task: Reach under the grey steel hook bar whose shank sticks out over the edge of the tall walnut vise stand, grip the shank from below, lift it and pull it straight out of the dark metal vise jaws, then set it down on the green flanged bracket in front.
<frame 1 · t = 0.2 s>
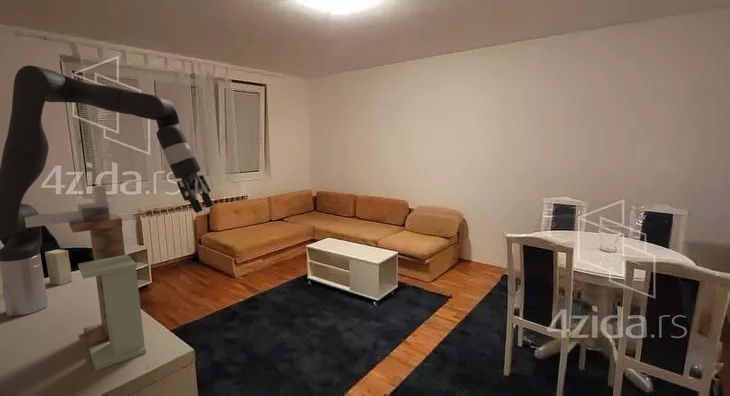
hand: (204, 209, 109), 31 cm above the table, tool tilted 20°, fingers open, 8 cm apart
steel hook: (80, 220, 89), point 32 cm above the table, touching tall vise stand
skincare box: (61, 282, 132), on the table
tall vise stand: (109, 332, 96), on the table
green flanged bracket: (118, 352, 87), on the table
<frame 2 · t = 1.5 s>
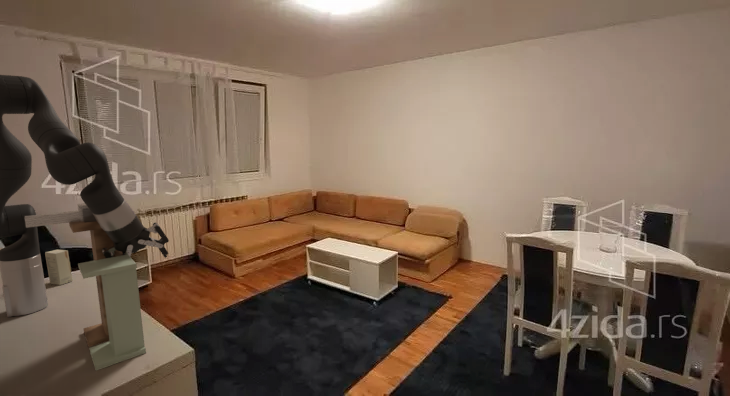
hand: (150, 264, 97), 18 cm above the table, tool tilted 30°, fingers open, 7 cm apart
nothing on the table moved.
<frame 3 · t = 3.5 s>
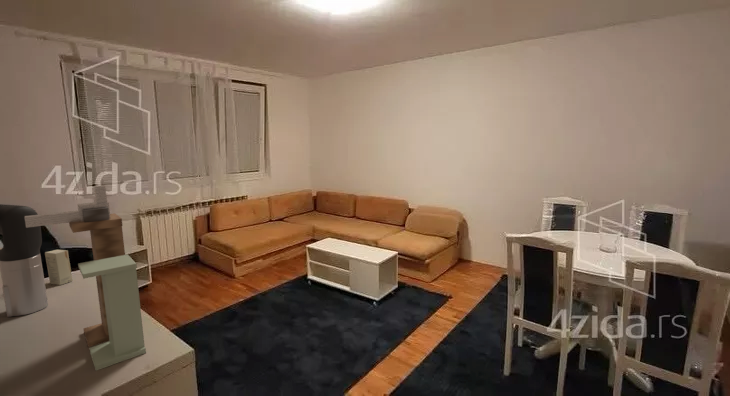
nothing on the table moved.
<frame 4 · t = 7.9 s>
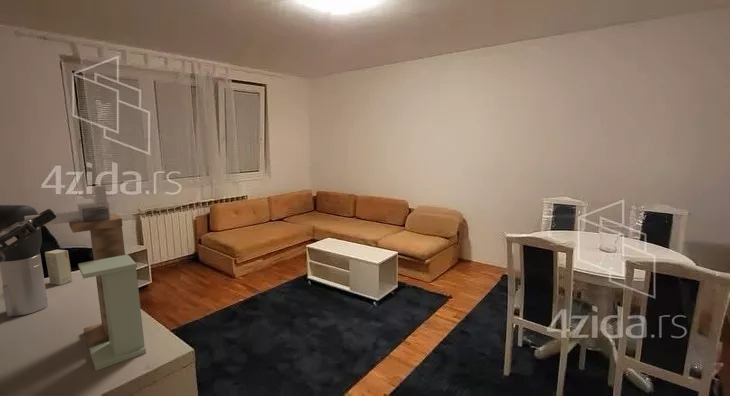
hand: (52, 212, 85), 35 cm above the table, tool pointing upward, fingers closed on steel hook, 2 cm apart
steel hook: (80, 220, 89), point 32 cm above the table, touching gripper, tall vise stand
everything else where it was.
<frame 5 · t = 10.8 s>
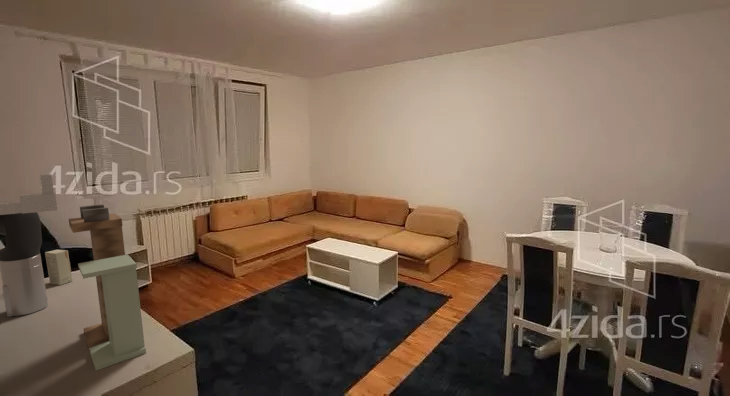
steel hook: (22, 212, 81), point 36 cm above the table, touching gripper
everything else where it was.
when the fingers open (27 cm above the table, at t = 14.0 s): steel hook drops 1 cm, resting on green flanged bracket.
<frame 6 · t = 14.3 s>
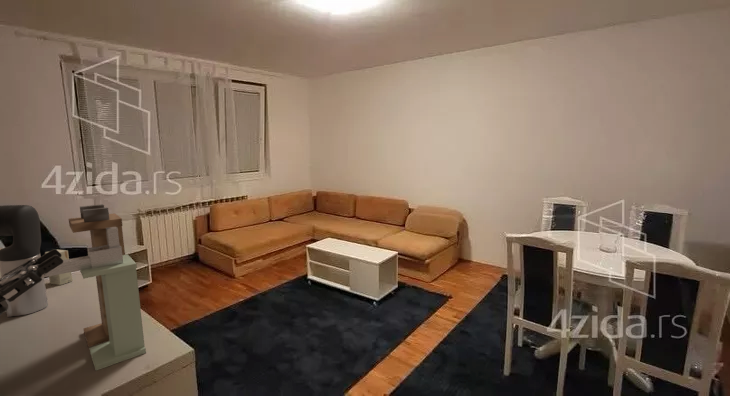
hand: (59, 255, 77), 27 cm above the table, tool pointing upward, fingers open, 5 cm apart
steel hook: (90, 266, 81), point 23 cm above the table, touching green flanged bracket
everything else where it was.
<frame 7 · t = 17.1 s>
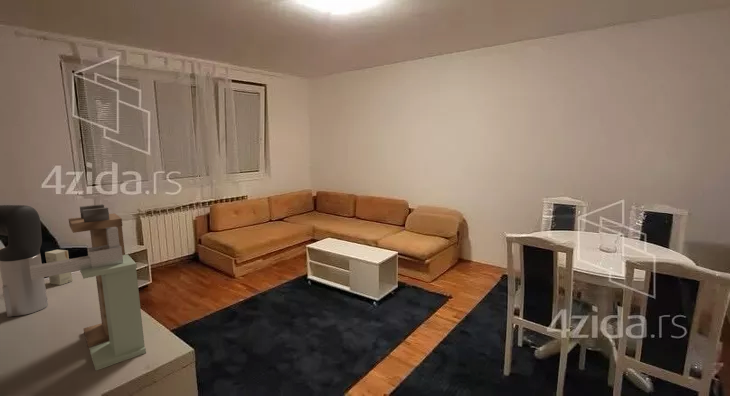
nothing on the table moved.
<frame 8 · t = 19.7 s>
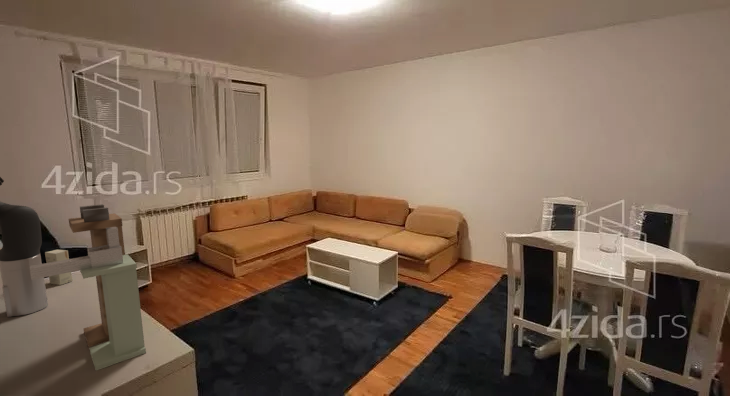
hand: (0, 179, 85), 43 cm above the table, tool pointing upward, fingers open, 8 cm apart
nothing on the table moved.
at the end: steel hook inside the target area on the green flanged bracket (1.7 cm from its centre), point 23.0 cm above the green flanged bracket's base; steel hook touching green flanged bracket; the gripper is holding nothing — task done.
